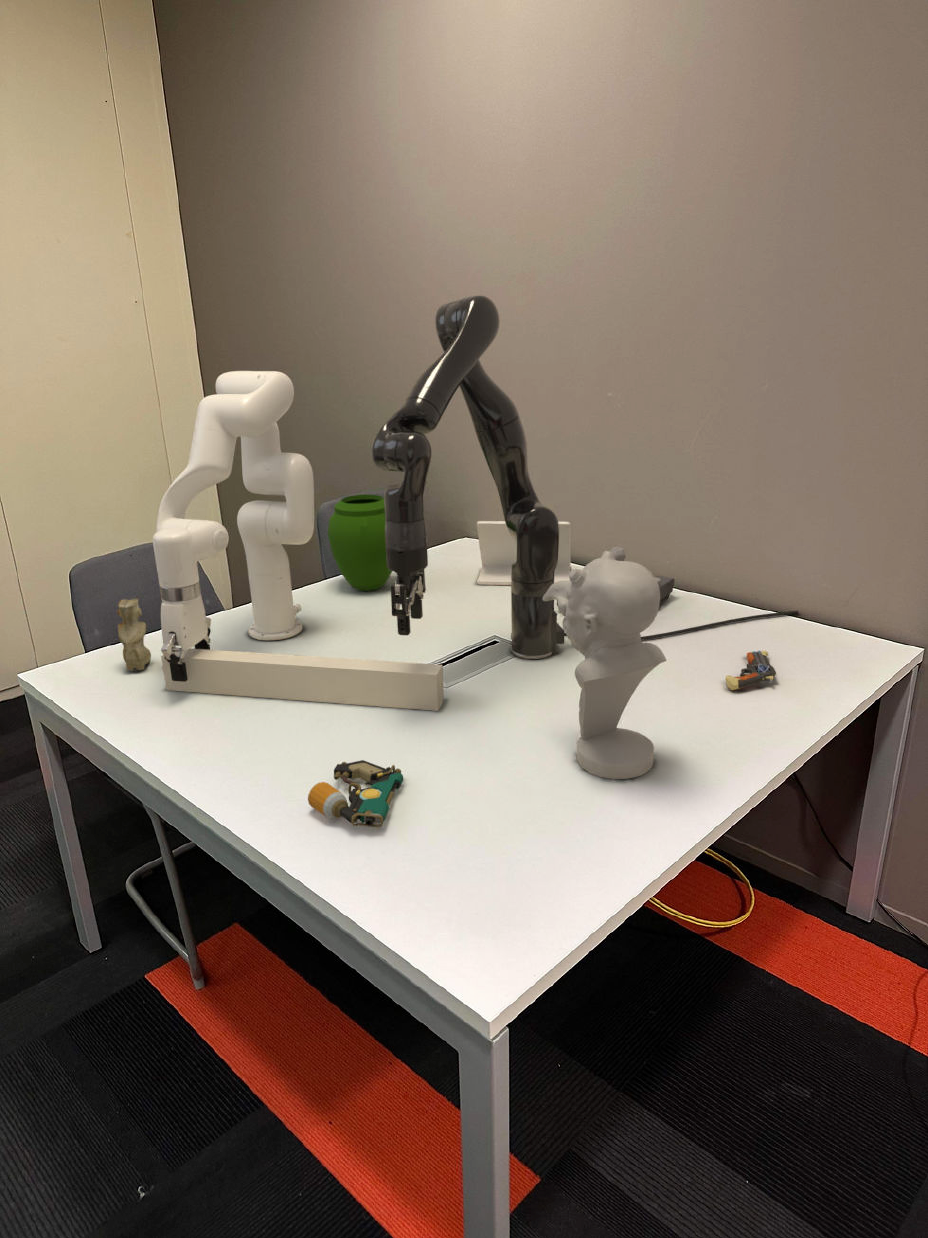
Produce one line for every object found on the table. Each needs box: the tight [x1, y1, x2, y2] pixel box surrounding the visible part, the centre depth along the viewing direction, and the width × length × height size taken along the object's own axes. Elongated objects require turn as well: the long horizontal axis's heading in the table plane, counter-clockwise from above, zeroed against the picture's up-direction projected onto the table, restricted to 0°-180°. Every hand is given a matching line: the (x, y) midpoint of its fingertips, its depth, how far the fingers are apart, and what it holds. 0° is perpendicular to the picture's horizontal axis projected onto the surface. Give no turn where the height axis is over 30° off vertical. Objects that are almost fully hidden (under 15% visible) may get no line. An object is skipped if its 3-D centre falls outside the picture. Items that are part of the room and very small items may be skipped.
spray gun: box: [307, 759, 404, 829], centre depth 133 cm, size 4×17×15 cm
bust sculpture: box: [543, 550, 667, 780], centre depth 141 cm, size 16×24×35 cm, turn 28°
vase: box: [327, 494, 393, 592], centre depth 229 cm, size 20×20×24 cm
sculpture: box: [116, 597, 152, 672], centre depth 183 cm, size 6×7×15 cm
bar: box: [160, 648, 445, 712], centre depth 169 cm, size 57×5×8 cm, turn 77°
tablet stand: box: [476, 520, 572, 586], centre depth 236 cm, size 18×25×17 cm
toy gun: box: [725, 650, 778, 691], centre depth 173 cm, size 3×19×10 cm
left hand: (192, 671), depth 174 cm, fingers open, 9 cm apart
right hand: (410, 626), depth 160 cm, fingers open, 8 cm apart
